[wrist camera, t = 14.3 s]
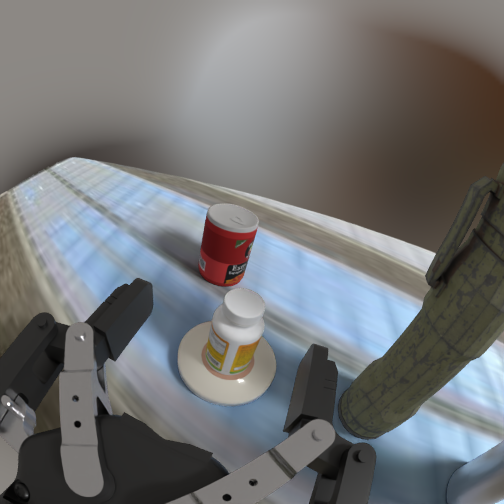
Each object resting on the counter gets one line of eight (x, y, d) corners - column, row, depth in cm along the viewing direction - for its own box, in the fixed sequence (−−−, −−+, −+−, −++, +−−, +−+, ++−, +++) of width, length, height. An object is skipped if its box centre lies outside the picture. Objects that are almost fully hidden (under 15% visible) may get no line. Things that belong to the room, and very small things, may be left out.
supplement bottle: (251, 345, 33) (273, 290, 28) (246, 381, 29) (271, 329, 24) (210, 335, 33) (222, 277, 28) (200, 370, 29) (211, 314, 23)
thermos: (399, 445, 25) (600, 213, 6) (322, 430, 26) (534, 126, 7) (400, 394, 32) (550, 180, 13) (332, 375, 34) (478, 116, 15)
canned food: (231, 294, 43) (247, 235, 37) (188, 273, 44) (196, 213, 38) (250, 270, 49) (266, 216, 43) (211, 252, 51) (222, 198, 45)
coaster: (248, 320, 39) (250, 312, 38) (289, 388, 31) (293, 382, 30) (166, 335, 33) (166, 327, 32) (197, 418, 25) (198, 413, 24)
